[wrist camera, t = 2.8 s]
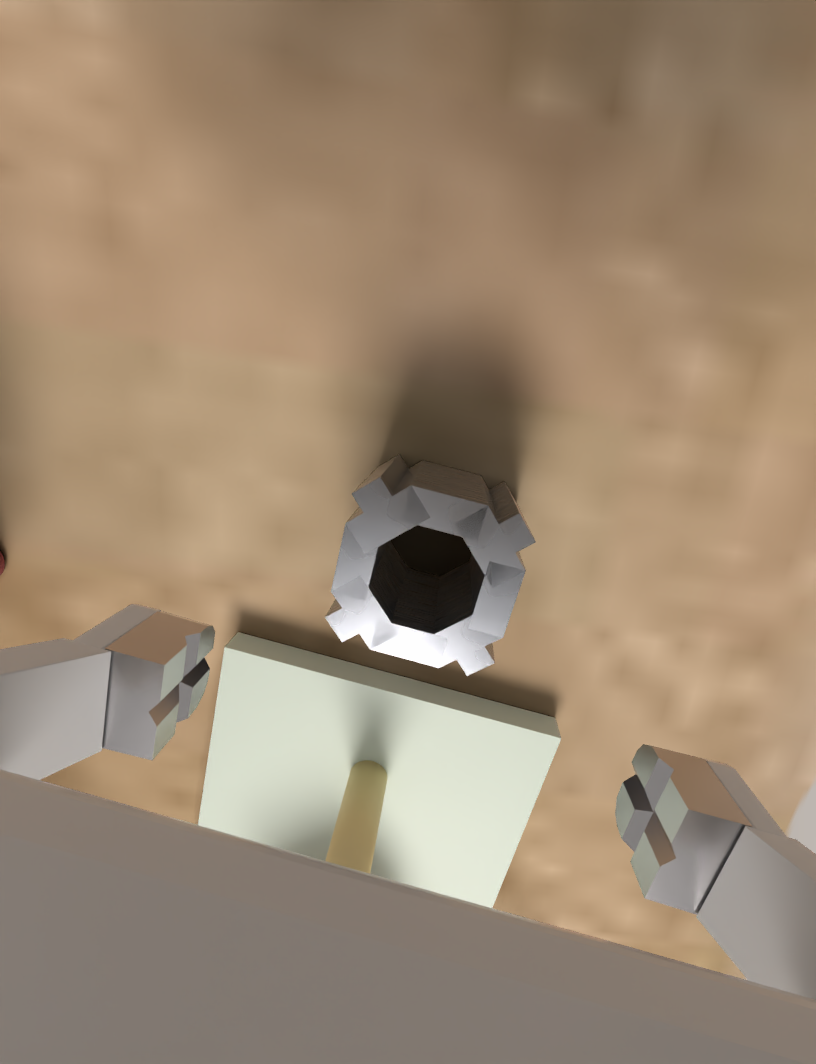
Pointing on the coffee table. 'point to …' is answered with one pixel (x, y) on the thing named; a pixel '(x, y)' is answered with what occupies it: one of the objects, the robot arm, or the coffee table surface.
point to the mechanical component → (1, 563)
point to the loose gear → (421, 598)
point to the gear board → (372, 769)
